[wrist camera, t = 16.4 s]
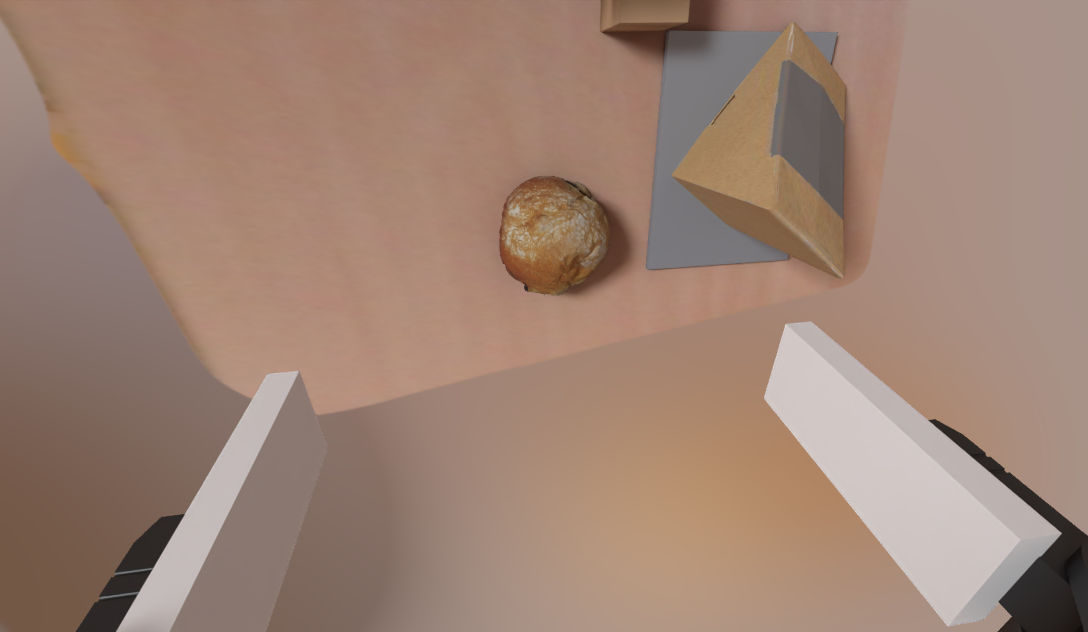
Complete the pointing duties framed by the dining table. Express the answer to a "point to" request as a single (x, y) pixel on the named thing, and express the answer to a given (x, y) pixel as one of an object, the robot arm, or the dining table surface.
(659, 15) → the wooden letter cube
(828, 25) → the dining table surface
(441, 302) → the dining table surface
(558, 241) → the bread roll
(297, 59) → the dining table surface
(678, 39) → the grey rubber mat
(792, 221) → the sandwich container
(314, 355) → the dining table surface
